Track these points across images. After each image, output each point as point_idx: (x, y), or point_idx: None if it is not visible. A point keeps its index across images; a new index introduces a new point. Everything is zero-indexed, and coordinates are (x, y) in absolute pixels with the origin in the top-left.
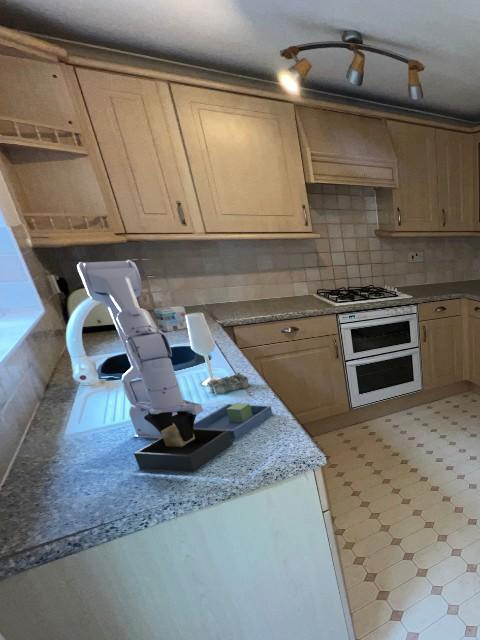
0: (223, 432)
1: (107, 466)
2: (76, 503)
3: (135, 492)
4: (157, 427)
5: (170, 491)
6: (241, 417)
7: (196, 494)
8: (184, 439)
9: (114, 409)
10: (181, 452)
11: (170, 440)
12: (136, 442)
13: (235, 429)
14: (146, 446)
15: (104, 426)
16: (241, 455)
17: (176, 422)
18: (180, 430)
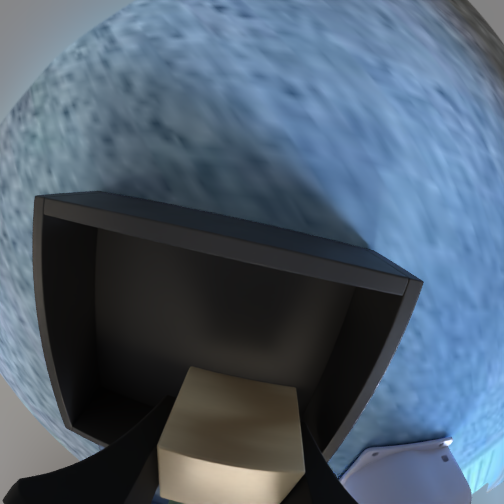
0: (67, 418)
1: (484, 293)
2: (432, 47)
3: (269, 57)
4: (332, 496)
5: (127, 66)
6: (170, 502)
7: (51, 71)
8: (164, 403)
9: (478, 477)
10: (256, 375)
11: (248, 408)
12: (444, 422)
13: (100, 447)
14: (384, 362)
15: (494, 445)
16: (36, 310)
17: (74, 499)
18: (130, 450)
